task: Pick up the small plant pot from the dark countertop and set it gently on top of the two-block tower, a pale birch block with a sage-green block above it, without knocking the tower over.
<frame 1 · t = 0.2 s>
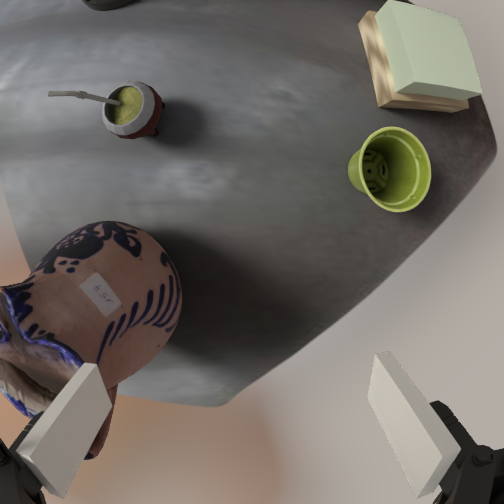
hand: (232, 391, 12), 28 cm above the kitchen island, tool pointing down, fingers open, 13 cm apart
mate gourd: (143, 119, 35), on the kitchen island
plant pot: (368, 171, 37), on the kitchen island
upper block: (421, 56, 29), point 5 cm above the kitchen island, touching lower block
ceramic pitcher: (136, 288, 40), on the kitchen island
lower block: (407, 67, 34), on the kitchen island, touching upper block
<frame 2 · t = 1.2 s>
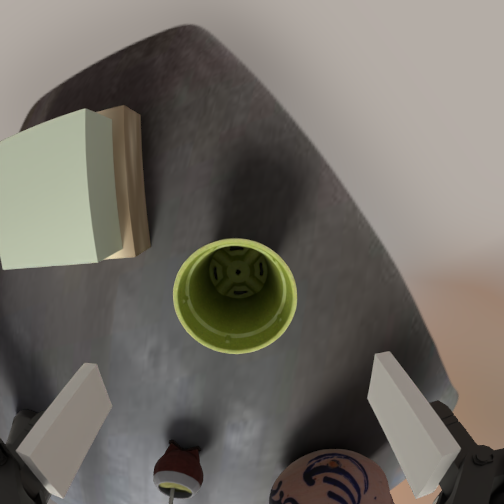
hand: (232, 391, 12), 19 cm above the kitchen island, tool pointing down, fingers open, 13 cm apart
mate gourd: (184, 452, 37), on the kitchen island
plant pot: (238, 268, 31), on the kitchen island
upper block: (63, 193, 24), point 4 cm above the kitchen island, touching lower block
ceramic pitcher: (331, 461, 38), on the kitchen island
lower block: (89, 189, 29), on the kitchen island, touching upper block
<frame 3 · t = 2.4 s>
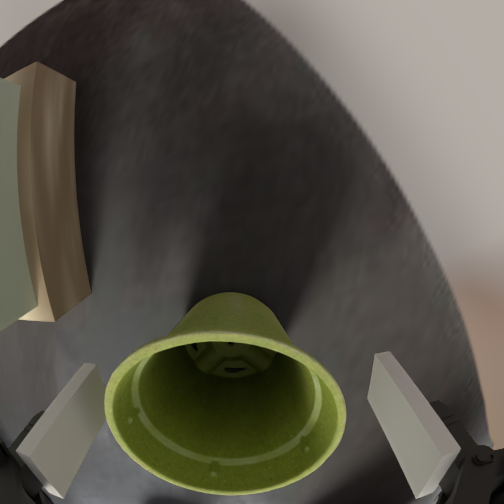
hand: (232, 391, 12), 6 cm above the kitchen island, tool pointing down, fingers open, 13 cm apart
plant pot: (231, 334, 18), on the kitchen island
lower block: (9, 201, 16), on the kitchen island, touching upper block
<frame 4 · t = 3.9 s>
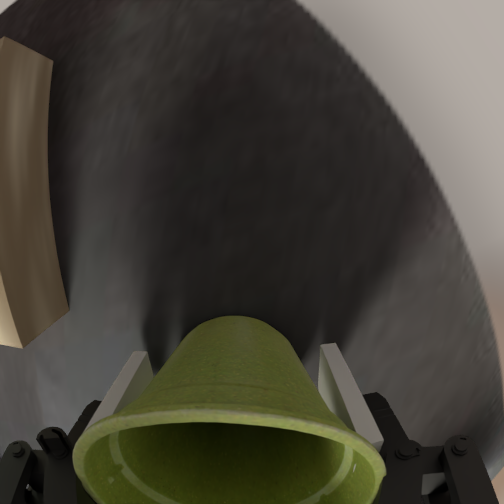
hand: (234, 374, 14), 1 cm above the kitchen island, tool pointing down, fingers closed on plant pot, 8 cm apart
plant pot: (236, 363, 15), on the kitchen island, touching gripper
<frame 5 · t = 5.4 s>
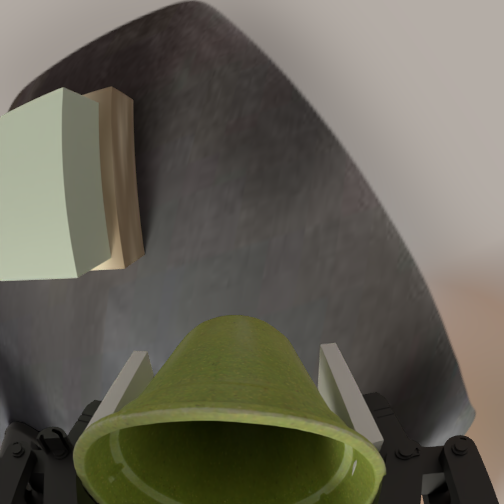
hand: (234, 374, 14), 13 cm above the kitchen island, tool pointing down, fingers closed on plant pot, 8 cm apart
plant pot: (236, 363, 15), point 12 cm above the kitchen island, touching gripper
upper block: (43, 191, 20), point 4 cm above the kitchen island
lower block: (75, 186, 24), on the kitchen island
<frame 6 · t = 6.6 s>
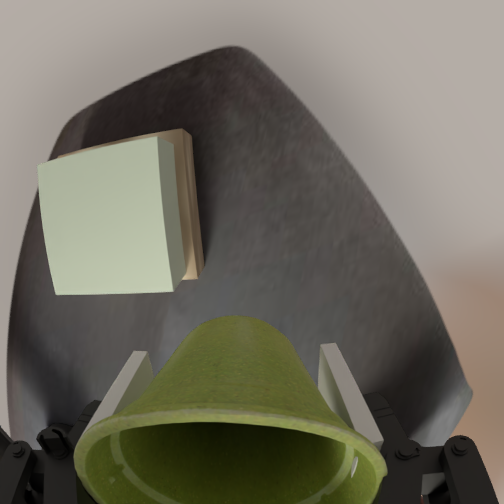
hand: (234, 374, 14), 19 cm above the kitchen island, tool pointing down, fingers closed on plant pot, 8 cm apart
plant pot: (237, 363, 15), point 18 cm above the kitchen island, touching gripper
upper block: (119, 216, 27), point 4 cm above the kitchen island, touching lower block
lower block: (137, 208, 31), on the kitchen island, touching upper block
when the fingers open (13 cm above the kitchen island, at t = 10.1 s): plant pot drops 2 cm, resting on upper block.
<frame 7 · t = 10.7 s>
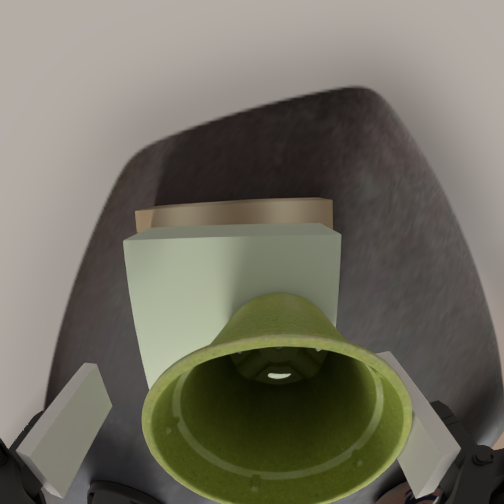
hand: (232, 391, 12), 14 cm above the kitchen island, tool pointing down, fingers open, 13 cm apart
plant pot: (278, 338, 17), point 10 cm above the kitchen island, touching upper block
upper block: (237, 306, 22), point 4 cm above the kitchen island, touching lower block, plant pot
ceramic pitcher: (409, 487, 36), on the kitchen island
lower block: (239, 279, 27), on the kitchen island, touching upper block
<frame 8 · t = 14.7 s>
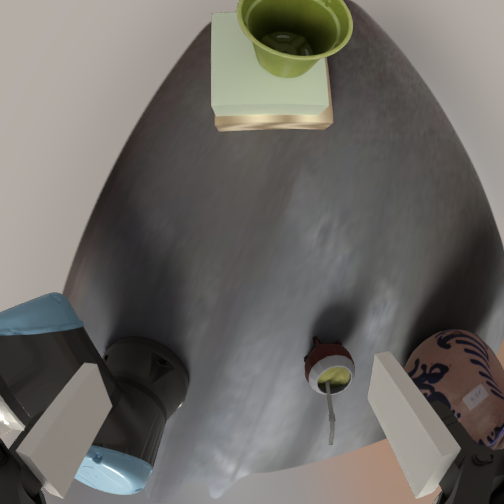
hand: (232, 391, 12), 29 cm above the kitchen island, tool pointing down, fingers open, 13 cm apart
mate gourd: (321, 353, 44), on the kitchen island
plant pot: (284, 54, 26), point 9 cm above the kitchen island, touching upper block
upper block: (266, 69, 31), point 5 cm above the kitchen island, touching lower block, plant pot
ceramic pitcher: (435, 355, 45), on the kitchen island
lower block: (269, 82, 36), on the kitchen island, touching upper block
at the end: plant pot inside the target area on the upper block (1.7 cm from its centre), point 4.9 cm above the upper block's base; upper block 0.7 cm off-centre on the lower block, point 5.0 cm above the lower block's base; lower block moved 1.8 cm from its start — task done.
